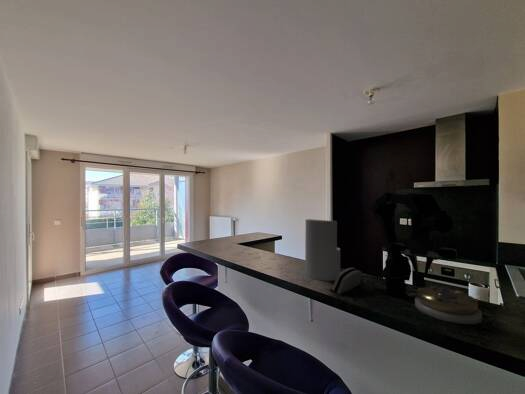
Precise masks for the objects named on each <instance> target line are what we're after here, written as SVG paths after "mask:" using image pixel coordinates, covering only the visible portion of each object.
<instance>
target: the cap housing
mask: <svg viewBox="0 0 525 394" xmlns="http://www.w3.org/2000/svg"><path fill="white" fill-rule="evenodd" d="M414 307H415V308H416V309H417V310H418V311H419V312H421V313H423V314H425V315H426V316H429V317H432V318H435V319H437V320H440V321H441V320H442V321H444V322H449V323H453V324H461V325H478V324H480V323H482V322H483V312H482V310H481V309H479V308H478V312H477V313H476V314H474V315H458V314H451V313H446V312H442V311H439V310H435V309H433V308H430V307H428V306H426V305H424V304H422V303H421V302H420V301H419V300H418V295H417V296H415V298H414Z"/></svg>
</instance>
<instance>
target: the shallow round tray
mask: <svg viewBox="0 0 525 394" xmlns="http://www.w3.org/2000/svg"><path fill="white" fill-rule="evenodd" d="M464 292H465V291H462V290H459V289H457V290H456V289H455V290H453V289H450V287H449V286H444V285H441V287H438V286H436V285H429V287H428V286H426V287H425V286H424V287H418V288H417V296H418V300H419V301H420V302H421V303H422V304H424V305H426V306H428V307H430V308H433V309H435V310H439V311H442V312H446V313H451V314H458V315H474V314H476V313H477V312H478V309H479V308H478V302H479V300H478V298H475V297H473V296H471V295H469V294H466V293H464Z"/></svg>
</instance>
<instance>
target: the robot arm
mask: <svg viewBox="0 0 525 394" xmlns="http://www.w3.org/2000/svg"><path fill="white" fill-rule="evenodd" d="M397 204H401V205H404V206H405V207H406V208H407V209H409V210H410V211H409V212H408V213H407V216H408V217H409V216H410V239H409V242H408V245H405V243H402V242H399V241H398V236H397V234H396V230H395V227H394V226H395V225H394V223H393V219H394V216H395V211H396V209H397V208H398V205H397ZM371 212H372V214H373V217H374V219H375V220H376V221H377V222H379V225H380V229H381V233H382V238H383V241H384V245H385V249H386V254H387V256H386V260H385V262H384V263H385V266H384V268H383V269H382V271H381V277H382V278H383V279H385V290H383V293H384V294H386V295H388V296H391V297H393V298H395V299H396V298H397V299H400V298H405V297H409V294H407V284H406V281H410V278H411V276H412V275H411V274H412V267H413V270H414V274H415V275H416V276H419V264H418V255H421V256H426V257H425V258H426V259H425V266H424V267H425V269H424V277H425V278H426V277H427V275H428V273H429V271H430V268H431V266H432V263H433V262H434V261H438V260H439V257H442V259H445V260H453V261H455V260H456V261H457V256H458V254H457V252H458V251H457V249H455V248H453V247H445V246H444V247H442V246H441V247H440V249H437V248H436V240H434V239H432V232H434V233H440V234H448V233H450V232H451V231H452V229H453V228H454V221H453V219H452V218H451V216H450V215H448V214H447V211H446V210H442V209H441V207H440V206H439V204H438V202H437V200H436V199H435V197H434V196H433V194H432V193H430V192H429V193H427V192H426V193H425V192H422V193H421V192H411V193H400V192H396V191H386V192H384V193H383V194H382V196H380V197H378V198H377V199H376V200H375V201H374V203H373V204H372V205H371ZM402 252H404V254H402ZM411 264H412V266H411Z"/></svg>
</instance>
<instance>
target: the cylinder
mask: <svg viewBox="0 0 525 394" xmlns="http://www.w3.org/2000/svg"><path fill="white" fill-rule="evenodd" d="M304 242H305V254H304V255H305V257H304V258H305V259H304V261H305V264H304V265H305V268H304V269H305V270H304V274H305V276H306V277H307V278H309V279H313V280H317V281H322V282H327V281H328V282H330V281H335V280H336V278H337V276H338V274H339V273H340V272H341V248H340V247H338V220H326V219H325V220H323V219H313V218H311V219H310V218H309V219H305V241H304Z"/></svg>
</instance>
